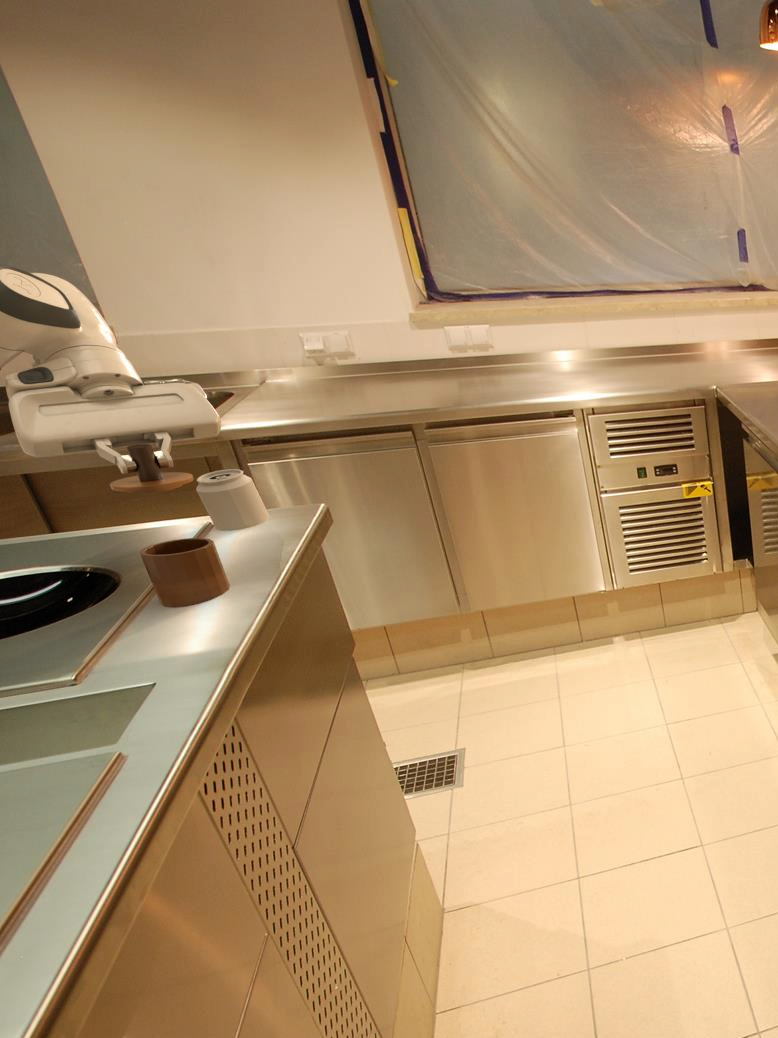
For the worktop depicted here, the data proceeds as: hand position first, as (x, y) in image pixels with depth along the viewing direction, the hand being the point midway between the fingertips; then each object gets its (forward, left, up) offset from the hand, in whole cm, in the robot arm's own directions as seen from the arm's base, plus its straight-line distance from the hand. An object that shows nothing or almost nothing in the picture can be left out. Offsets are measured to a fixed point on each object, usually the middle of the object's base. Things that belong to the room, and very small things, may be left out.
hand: (148, 467), depth 112 cm
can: (+15, +27, -20) cm, 37 cm away
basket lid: (0, +1, -2) cm, 2 cm away
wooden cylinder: (0, +2, -20) cm, 20 cm away
